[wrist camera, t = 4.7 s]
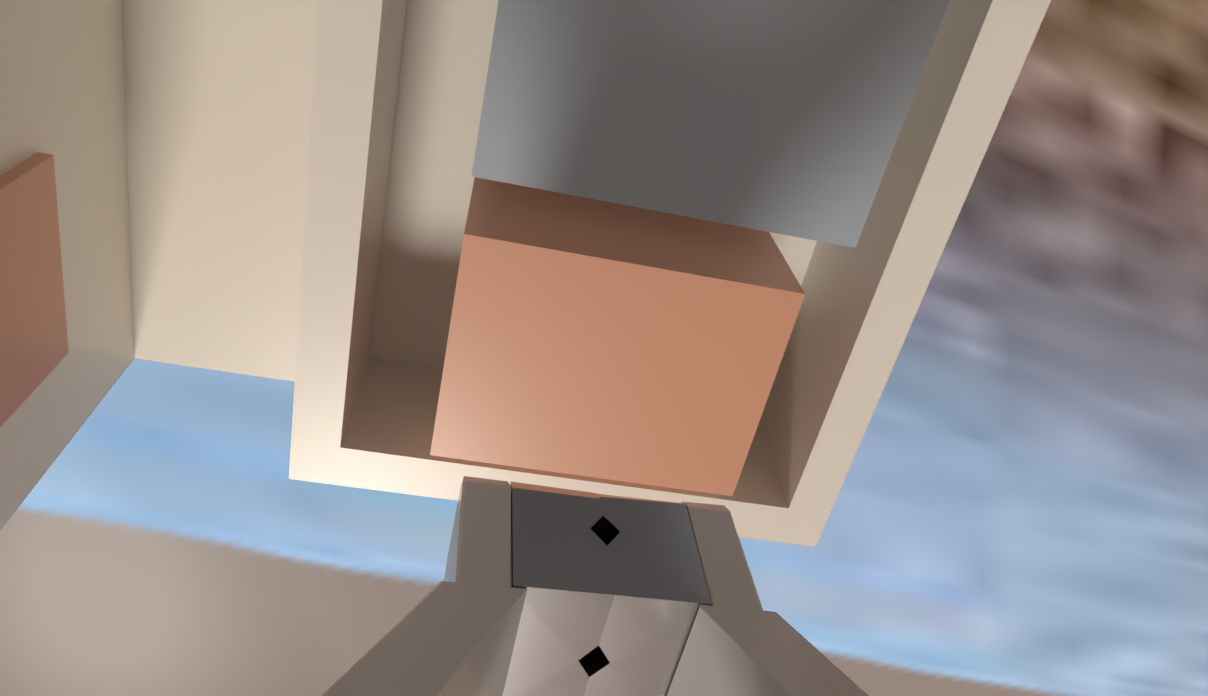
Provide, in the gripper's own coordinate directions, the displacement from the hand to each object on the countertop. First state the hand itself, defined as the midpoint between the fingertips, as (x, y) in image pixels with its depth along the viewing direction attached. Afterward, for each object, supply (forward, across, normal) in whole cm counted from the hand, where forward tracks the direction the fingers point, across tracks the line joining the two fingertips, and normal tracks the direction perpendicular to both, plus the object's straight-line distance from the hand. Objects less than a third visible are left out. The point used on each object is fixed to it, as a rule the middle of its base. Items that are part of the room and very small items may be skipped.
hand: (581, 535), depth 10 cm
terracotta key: (+6, -1, 0) cm, 6 cm away
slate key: (+5, -1, -5) cm, 7 cm away
